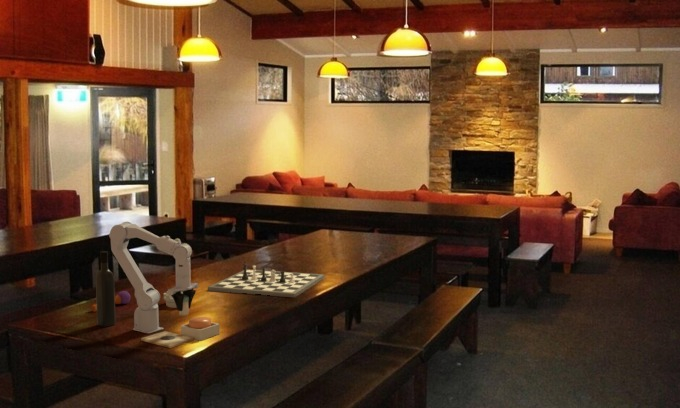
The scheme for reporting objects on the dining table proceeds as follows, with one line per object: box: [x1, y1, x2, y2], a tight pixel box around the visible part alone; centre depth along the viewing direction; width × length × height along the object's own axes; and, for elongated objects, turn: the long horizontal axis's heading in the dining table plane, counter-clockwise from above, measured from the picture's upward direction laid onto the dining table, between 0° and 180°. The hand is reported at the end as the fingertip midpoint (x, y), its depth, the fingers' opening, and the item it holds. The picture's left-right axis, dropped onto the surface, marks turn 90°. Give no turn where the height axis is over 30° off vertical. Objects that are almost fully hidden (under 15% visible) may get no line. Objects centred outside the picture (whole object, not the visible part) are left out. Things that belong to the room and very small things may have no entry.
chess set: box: [207, 261, 325, 298], centre depth 373 cm, size 45×45×11 cm
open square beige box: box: [180, 321, 221, 341], centre depth 285 cm, size 10×10×4 cm
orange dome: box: [188, 316, 212, 329], centre depth 285 cm, size 8×8×4 cm
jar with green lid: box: [178, 296, 190, 316], centre depth 289 cm, size 4×4×7 cm
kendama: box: [90, 290, 131, 313], centre depth 327 cm, size 6×6×20 cm
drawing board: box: [140, 330, 195, 349], centre depth 278 cm, size 16×12×1 cm
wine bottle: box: [95, 250, 116, 328], centre depth 297 cm, size 6×6×30 cm
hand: (183, 309), depth 289 cm, fingers closed on jar with green lid, 4 cm apart
